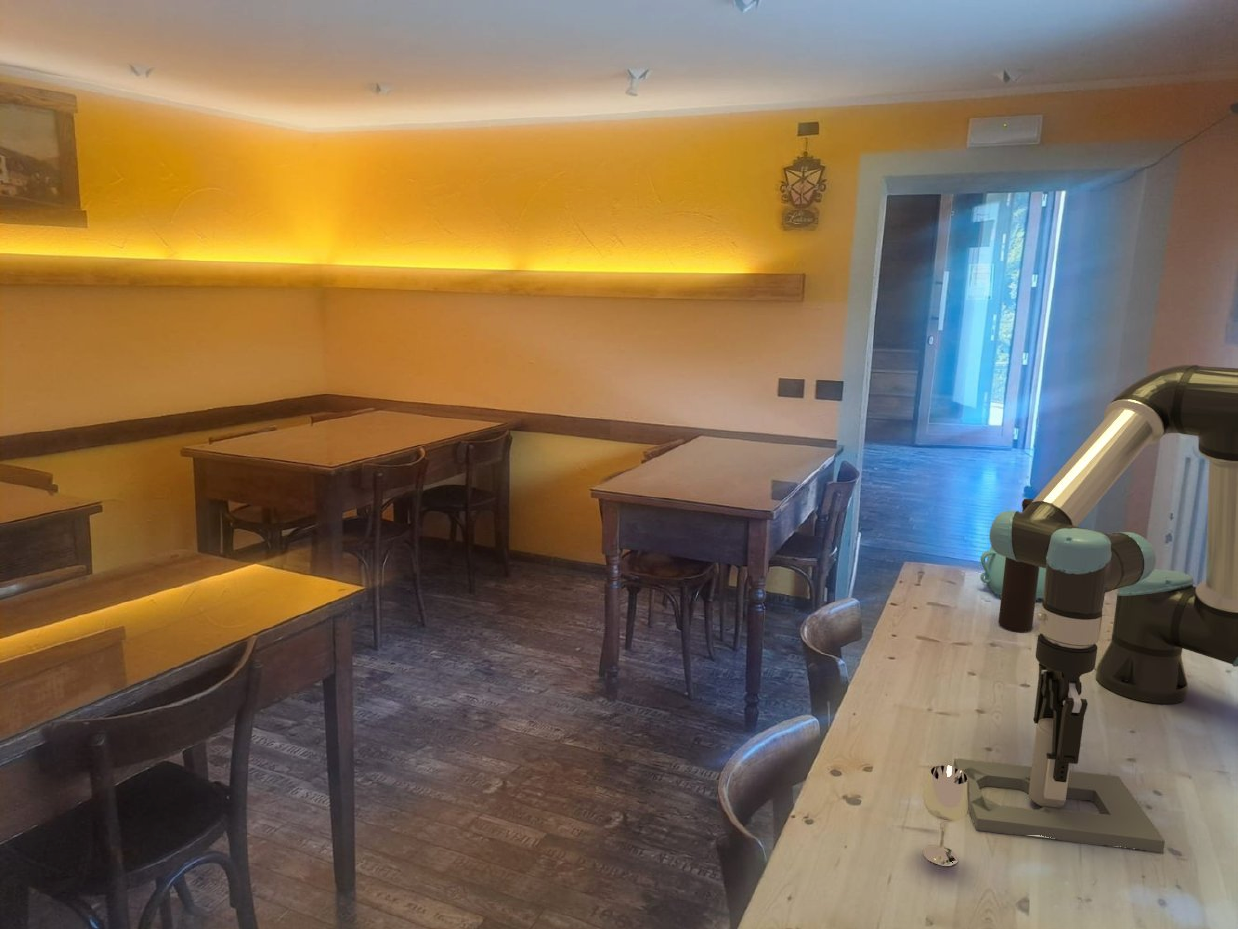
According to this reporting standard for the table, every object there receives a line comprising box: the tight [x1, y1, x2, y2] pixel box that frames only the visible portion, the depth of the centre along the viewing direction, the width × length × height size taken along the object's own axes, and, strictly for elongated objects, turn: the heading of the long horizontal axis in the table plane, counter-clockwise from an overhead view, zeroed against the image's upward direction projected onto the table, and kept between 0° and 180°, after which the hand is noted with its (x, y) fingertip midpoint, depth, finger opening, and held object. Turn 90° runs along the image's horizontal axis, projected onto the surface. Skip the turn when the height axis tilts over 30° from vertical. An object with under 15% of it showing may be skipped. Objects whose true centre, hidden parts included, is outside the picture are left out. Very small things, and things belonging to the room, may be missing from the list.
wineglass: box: [922, 764, 970, 866], centre depth 111 cm, size 6×6×12 cm
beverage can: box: [1028, 718, 1066, 809], centre depth 123 cm, size 5×5×12 cm
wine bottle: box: [998, 498, 1039, 633], centre depth 190 cm, size 7×7×30 cm
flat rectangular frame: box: [953, 757, 1166, 854], centre depth 124 cm, size 24×16×2 cm, turn 79°
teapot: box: [979, 546, 1046, 602], centre depth 214 cm, size 18×16×14 cm
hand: (1048, 786), depth 123 cm, fingers closed on beverage can, 5 cm apart
